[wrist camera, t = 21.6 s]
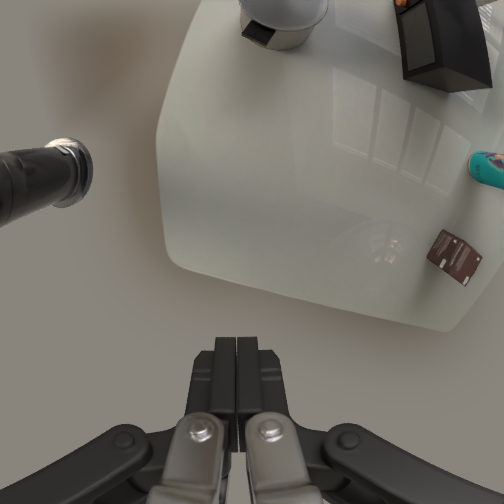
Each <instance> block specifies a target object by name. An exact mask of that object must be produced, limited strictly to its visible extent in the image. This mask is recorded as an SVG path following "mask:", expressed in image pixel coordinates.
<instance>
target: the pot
mask: <svg viewBox="0 0 504 504" xmlns="http://www.w3.org/2000/svg"><path fill="white" fill-rule="evenodd" d="M239 4H240V6H241V26H242V29H243V32H242V36H244V37H246V38H248V39H250V40H251V41H252V42H254V43H255V44H257V45H259V46H261V47H264V48H267V49H272V50H287V49H291V48H294V47H296V46H298V45H300V44H301V43H303V42H304V41H305V40H306V38H307V37H308V36H309V34H310V32H311V31H312V29H313V28H314V26H315V25H316V24H318V23H319V22H320V21H321V20H322V19H323V17H324V16H325V14H326V12H327V9H328V0H239Z"/></svg>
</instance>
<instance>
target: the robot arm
mask: <svg viewBox="0 0 504 504" xmlns="http://www.w3.org/2000/svg"><path fill="white" fill-rule="evenodd" d="M53 146H54V147H43V148H33V149H25V150H17V151H9V152H3V153H0V227H2V226H4V225H7V224H8V223H11V222H13V221H15V220H17V219H19V218H22V217H24V216H26V215H28V214H31V213H33V212H35V211H38V210H40V209H42V208H45V207H47V206H50V205H52V204H55V203H57V202H61V201H64V200H67V199H69V198H70V197H72V196H73V195H74V194H75V192H76V191H77V189H78V187H79V185H80V181H81V176H82V169H81V163H80V160H79V158H78V156H77V154H76V153H75V152H74V150H72V149H71V148H70V147H67V146H63V145H60V146H59V145H53ZM192 371H193V372H192V376H191V381H190V387H189V393H188V398H187V404H186V410H185V415H184V417H183V418H181V419H180V420H179V421H178V423H177V425H176V426H175V427H173V428H171V429H168V430H165V431H160V432H154V433H147V434H146V433H145V432H144V431H143V430H142V429H141V428H139V427H137V426H134V425H130V424H121V425H117V426H114V427H113V428H111V429H109V430H108V431H106V432H105V433H103V434H101V435H100V436H98V437H96V438H95V439H93V440H91V441H90V442H88V443H87V444H85V445H83V446H81V447H80V448H78V449H76V450H75V451H73V452H71V453H70V454H68V455H66V456H64V457H62V458H61V459H59V460H57V461H55V462H54V463H52V464H50V465H48V466H46V467H45V468H43V469H41V470H39V471H37V472H35V473H33V474H31V475H29V476H27V477H25V478H23V479H22V480H20V481H18V482H16V483H14V484H12V485H9V486H7V487H5V488H3V489H1V490H0V504H227V498H228V488H229V478H230V469H231V452H238V431H239V445H240V452H246V470H247V479H248V486H249V493H250V501H251V504H324V502H323V499H325V500H326V501H327V502H329V503H331V504H504V494H501V493H498V492H495V491H493V490H490V489H487V488H485V487H482V486H480V485H477V484H475V483H473V482H470V481H468V480H465V479H463V478H461V477H458V476H456V475H454V474H452V473H449V472H447V471H445V470H443V469H441V468H439V467H437V466H435V465H432V464H430V463H428V462H426V461H424V460H422V459H420V458H418V457H416V456H414V455H412V454H411V453H409V452H407V451H405V450H403V449H401V448H399V447H397V446H395V445H394V444H391V443H390V442H388V441H386V440H384V439H383V438H381V437H379V436H377V435H376V434H374V433H372V432H370V431H368V430H367V429H365V428H363V427H362V426H359V425H357V424H352V423H344V424H339V425H336V426H334V427H332V428H331V429H330V430H329V431H328V432H325V431H317V430H311V429H307V428H304V427H301V426H299V425H298V424H297V423H296V422H294V421H293V419H292V418H291V416H290V415H289V411H288V405H287V400H286V394H285V388H284V382H283V377H282V371H281V365H280V360H279V358H278V357H277V355H276V354H275V353H274V352H273V350H258V341H257V337H238V338H237V354H236V338H235V337H216V340H215V349H214V351H201V352H200V353H199V355H198V356H197V357H196V358H195V360H194V364H193V370H192ZM322 498H323V499H322Z"/></svg>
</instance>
